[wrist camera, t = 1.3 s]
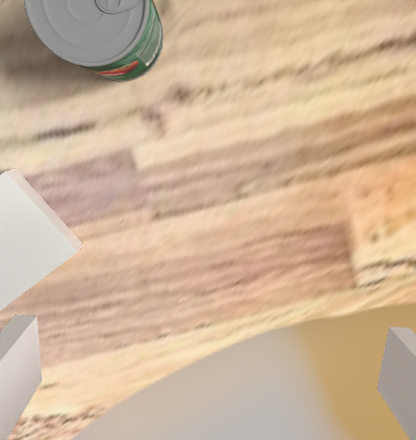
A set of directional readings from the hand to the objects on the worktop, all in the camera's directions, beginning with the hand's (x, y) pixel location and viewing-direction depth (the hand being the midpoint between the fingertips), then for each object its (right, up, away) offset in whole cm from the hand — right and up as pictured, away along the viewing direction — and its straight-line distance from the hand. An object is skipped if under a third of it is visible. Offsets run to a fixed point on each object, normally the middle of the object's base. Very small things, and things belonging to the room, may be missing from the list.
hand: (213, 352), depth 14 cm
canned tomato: (-8, +22, +20) cm, 31 cm away
